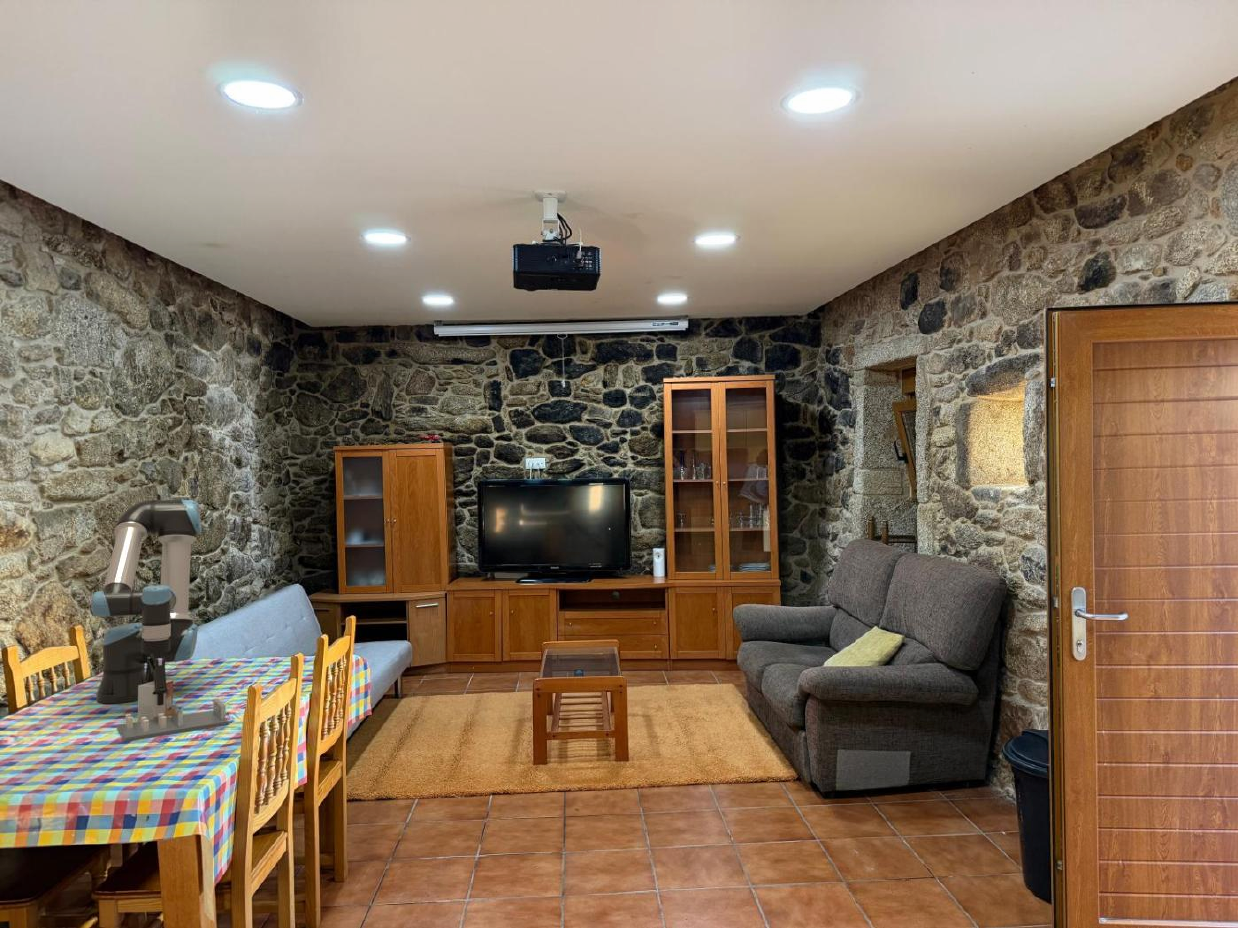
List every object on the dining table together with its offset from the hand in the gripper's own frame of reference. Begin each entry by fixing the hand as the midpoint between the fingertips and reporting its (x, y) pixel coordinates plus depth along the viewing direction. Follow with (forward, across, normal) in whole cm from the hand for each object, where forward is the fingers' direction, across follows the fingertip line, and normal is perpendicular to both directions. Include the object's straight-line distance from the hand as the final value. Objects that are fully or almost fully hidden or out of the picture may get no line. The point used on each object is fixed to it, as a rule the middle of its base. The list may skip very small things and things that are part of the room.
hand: (155, 711), depth 253 cm
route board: (+2, +12, +3) cm, 13 cm away
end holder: (+2, +13, +9) cm, 16 cm away
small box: (+2, 0, 0) cm, 2 cm away
